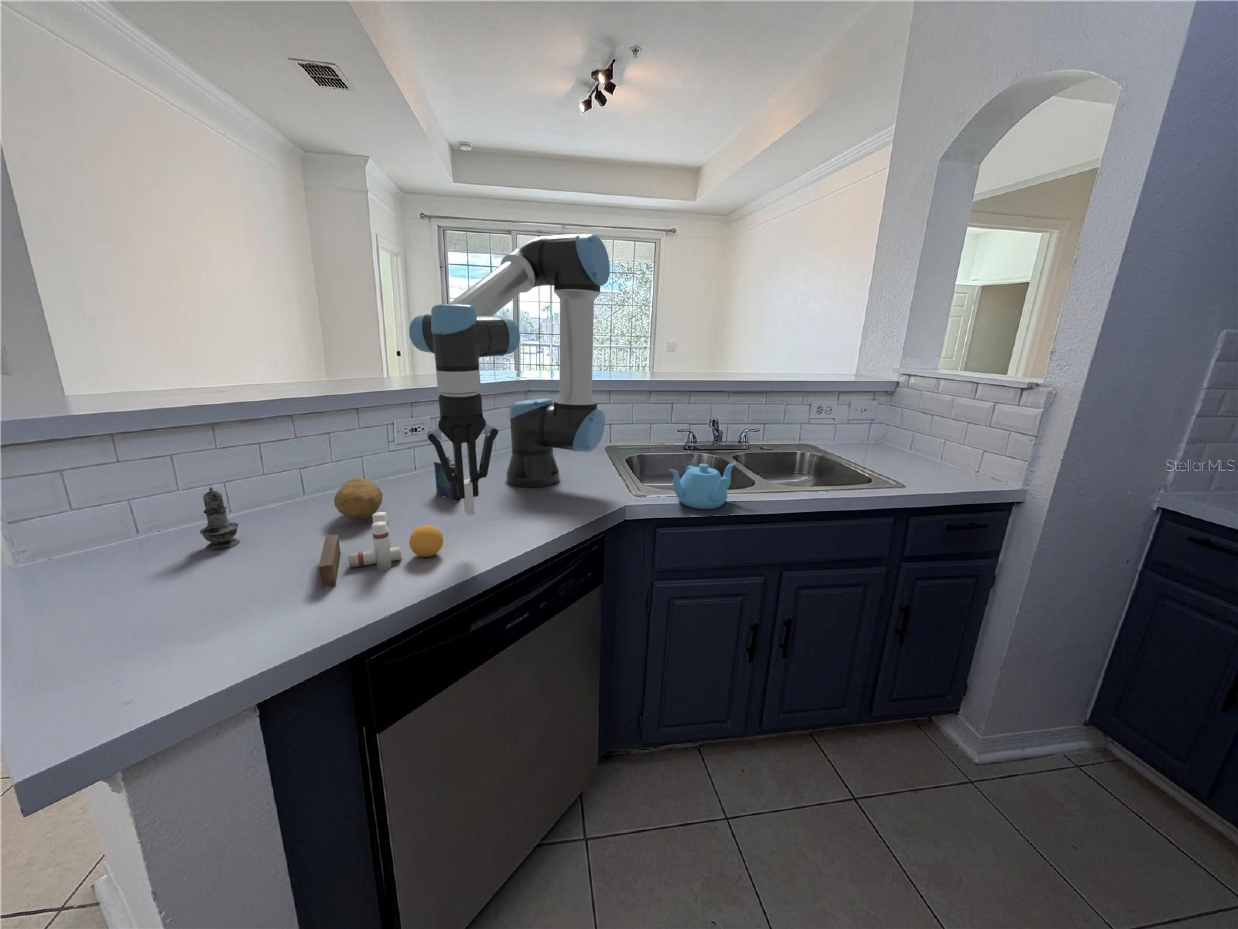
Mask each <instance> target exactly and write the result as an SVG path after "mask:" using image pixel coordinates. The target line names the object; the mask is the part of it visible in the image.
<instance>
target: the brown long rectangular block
mask: <svg viewBox="0 0 1238 929" xmlns="http://www.w3.org/2000/svg"><path fill="white" fill-rule="evenodd" d="M340 547H341V546H340V539H339V534H332V535H326V536H325V537H324V542H323V545H322V551H321V554H320V558H319V563H318V572H319V578H320V585H321V589H326V588H331V587H336V585H337V579H338V575H339V574H338V573H339V567H340V560H341V555H342V552H341V548H340Z"/></svg>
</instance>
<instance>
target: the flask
mask: <svg viewBox="0 0 1238 929" xmlns="http://www.w3.org/2000/svg"><path fill="white" fill-rule="evenodd" d="M446 458H447V461H448V463H449V466H450V469H451V471H452V473H453V474H455V463H454V462H452V460H451V459H450V458H451V456H450V455H449V456H446ZM433 465H434V466H433V467H434V475H435V489H436V491H435V492H436V495H438V496H441V497H442V496H445V497H446V499H447V500H450V501H452V502H458V501H459V502H460V501H461V500H462V499H460V498H459V497H458V494H457V483H456V482H449V481H448V480H447V478H446V475H445V473H444V470H443V467H442V465H441V462H440V459H437V460H435V461H433Z"/></svg>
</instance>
